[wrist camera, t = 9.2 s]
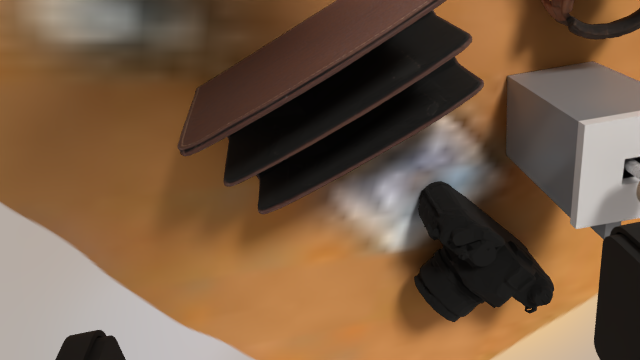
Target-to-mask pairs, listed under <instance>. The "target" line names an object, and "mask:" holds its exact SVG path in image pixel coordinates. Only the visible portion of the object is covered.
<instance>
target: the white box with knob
mask: <svg viewBox="0 0 640 360" xmlns="http://www.w3.org/2000/svg"><path fill="white" fill-rule="evenodd" d="M506 155H507V156H508V157H509V158H510V159H511V160H512V161H513V162H514V163H515V164H516V165H517V166H518V167H519V168H520V169H521V170H522V171H523V172H524V173H525V174H526V175H527V176H528V177H529V178H530V179H531V180H532V181H533V182H534V183H535V184H536V185H537V186H538V187H539V188H540V189H541V190H542V191H543V192H544V193H546V194H547V195H548V196H549V197H550V198H551V199H552V200H553V201H554V202H555V203H556V204H557V205H558V206H559V207H560V208H561V209H562V210H563V211H564V212H565V213H566V214H567V215H568V216H569V217H570V218H571V220H570V224H571V225H572V226H573V227H574V228H575V229H579V228H585V227H591V228H592V229H593V230H594V231H595V232H596V233H597V234H598V235H600V236H601V237H602V238H603V239H605V237H607V236H610V234H611V231H612V229H613V228H614V227H617V226H621V221H625V220H630V219H636V218H640V202H639V200H638V198H637V195H636V190H637V186H638V183H639V181H640V180H639V179H638V178H636V177H635V176H633V175H632V174H630V173H629V172H628V171H626V170H625V169H624V162H625V159H629V158H633V159H634V160H636V161H637V162H639V163H640V81H637V80H635V79H633V78H631V77H628V76H626V75H624V74H621V73H619V72H617V71H614V70H612V69H610V68H607V67H605V66H603V65H600V64H598V63H596V62H594V61H592V62H586V63H580V64H574V65H568V66H562V67H556V68H550V69H544V70H538V71H533V72H527V73H521V74H515V75H509V76H507V132H506Z"/></svg>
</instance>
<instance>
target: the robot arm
mask: <svg viewBox="0 0 640 360" xmlns="http://www.w3.org/2000/svg"><path fill="white" fill-rule="evenodd" d="M594 345H595V349H596V352H597V354H598V356H599V358H600V360H640V222H636V223H631V224H626V225H621V226H617V227H614V228H613V229H612V231H611V234H610V236H607V237H605V239H604V241H603V247H602V258H601V269H600V280H599V291H598V302H597V313H596V325H595V335H594ZM56 360H126V359H125V357H124V355H123V353H122V351H121V349H120V347H119V345H118V342H117V340H116V339H115V337H113V336H106V335H105V333H104V332H103V331H101V330H96V331H91V332H86V333H80V334H75V335H70V336H69V337H67V338H66V339H65V341H64V343H63V345H62V347H61V349H60V351H59V353H58V356H57V358H56Z"/></svg>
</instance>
